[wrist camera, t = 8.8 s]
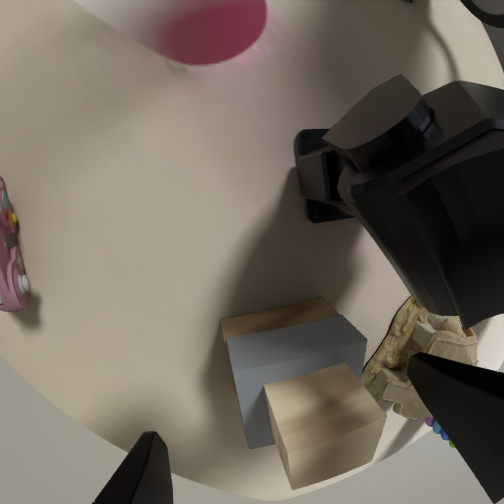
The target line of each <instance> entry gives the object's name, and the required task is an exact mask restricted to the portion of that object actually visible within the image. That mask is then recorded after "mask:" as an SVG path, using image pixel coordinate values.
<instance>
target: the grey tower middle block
mask: <svg viewBox="0 0 504 504" xmlns="http://www.w3.org/2000/svg"><path fill="white" fill-rule="evenodd" d="M227 343H228V349H229V355H230V360H231V365H232V371H233V376H234V381H235V386H236V391H237V396H238V401H239V406H240V411H241V416H242V420H243V425H244V429H245V434H246V438H247V442H248V447H249V449H253V448H258V447H263V446H268V445H273V444H276V442H275V439H274V436H273V433H272V428H271V422H270V417H269V411H268V406H267V401H266V395H265V390H264V385H266V384H270V383H274V382H278V381H282V380H286V379H290V378H293V377H297V376H300V375H304V374H307V373H310V372H314V371H317V370H320V369H323V368H326V367H330V366H333V365H336V364H338V363H341V362H344V361H345V362H346V364H347V365H348V366H349V368H350V369H351V370H352V371H353V373H354V374H355V375H356V376H357V378H358V379H359V380H360V381H361V377H362V371H363V365H364V359H365V352H366V345H367V339H366V338H365V337H364V336H363V335H362V334H361V333H360V332H359V331H358V330H357V329H356V328H355V327H354V326H353V325H352V324H351V323H350V322H349V321H348V320H347V319H346V318H345V317H344V316H343V315H342V314H341V315H338V316H333V317H329V318H325V319H321V320H317V321H312V322H308V323H303V324H299V325H294V326H289V327H285V328H280V329H275V330H269V331H264V332H259V333H253V334H248V335H242V336H236V337H230V338H227Z"/></svg>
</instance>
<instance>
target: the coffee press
mask: <svg viewBox="0 0 504 504" xmlns="http://www.w3.org/2000/svg"><path fill="white" fill-rule="evenodd" d="M406 1H408V2H410V3H413V2H414V1H415V0H406ZM460 1H461V2H462V3H463V4H464V6H465V7H466V8H467V9H468V10H469V11H470V12H471V13H472V14H473V15H474V16H475V17H477V18H478V19H479V20H481V21H482V22H484V23H486V24H488V25H490V26H494V27H497V28H504V13H502V14H494V13H491V12H488V11H486V10H484V9H483V8H481V7H480V6H479V5H478V4H477V3H476V2H475V1H474V0H460Z"/></svg>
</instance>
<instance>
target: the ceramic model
mask: <svg viewBox="0 0 504 504" xmlns="http://www.w3.org/2000/svg"><path fill="white" fill-rule="evenodd" d="M477 342H478V340H477V336H476V334H475V332H474V331H473V330H472V328H471V327H470V328H468V329H464V328H463V326H462V327H461V324H460V321H459V319H458V318H457V317H456V316H439V315H436V314H432V313H429V312H428V311H427V309H426V308H425V307H423V306H422V305H421V304H420V303H419V302H418V301H416V300H415V299H414V298H413V297H412V296H411V297H410V298H409V299H408V300H407V302H406V303H405V304H404V305H403V306H402V307H401V309H400V310H399V312H398V314H397V315H396V317H395V319H394V321H393V324H392V327H391V329H390V332H389V334H388V336H387V337H386V339H385V340H384V341H383V343H382V345H381V346H380V348H379V350H378V351H377V353H375V355H374V356H373V358H372V359H371V360H370V362H369V363H368V364H367V366H366V368H365V370H364V372H363V374H362V377H361V383H362V384H363V385H364V387H365V388H366V389H367V390H368V392H369V393H370V394H371V395H372V397H373V398H374V399H375V400H379V399H382V400H385V401H388V402H393V403H395V404H394V406H393V409H392V410H393V411H394V412H395V413H398V414H400V415H402V416H403V417H406V418H409V419H414V420H418V419H422V418H427V417H433V416H432V415H431V413H430V412H429V411H428V409H427V408H426V407H425V405H424V404H423V402H422V400H421V399H420V397H419V395H418V393H417V392H416V390H415V388H414V387H413V385H412V383H411V382H410V380H409V378H408V376H407V366H408V361H409V357H410V356H411V355H412V354H414V353H416V352H418V351H421V352H424V353H428V354H431V355H435V356H439V357H442V358H446V359H450V360H454V361H457V362H461V363H465V364H469V365H473V366H476V365H477V363H478V360H477Z"/></svg>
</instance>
